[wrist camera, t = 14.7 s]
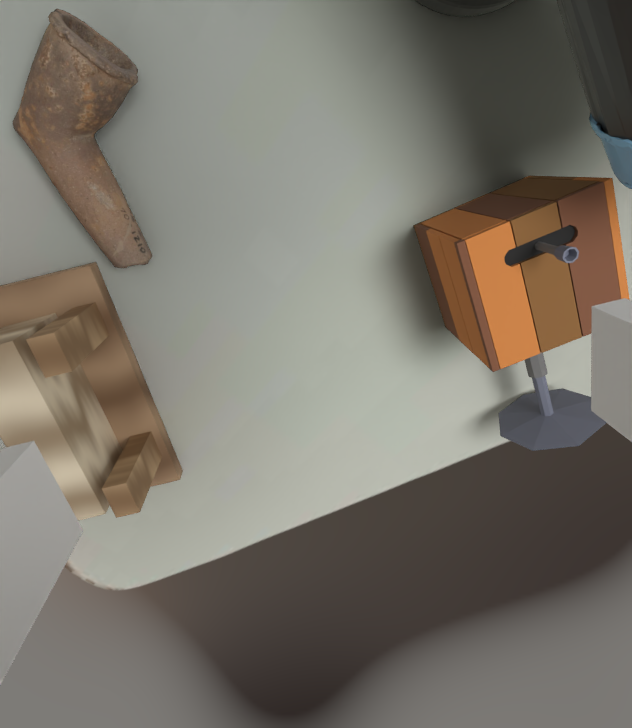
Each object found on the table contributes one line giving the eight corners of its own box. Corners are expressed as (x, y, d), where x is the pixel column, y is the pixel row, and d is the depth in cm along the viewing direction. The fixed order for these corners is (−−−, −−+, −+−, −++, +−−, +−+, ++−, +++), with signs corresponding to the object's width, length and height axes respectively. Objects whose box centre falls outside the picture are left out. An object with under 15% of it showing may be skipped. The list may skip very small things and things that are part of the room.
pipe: (95, 291, 36) (205, 238, 34) (-60, 61, 30) (61, -25, 27) (130, 269, 42) (227, 222, 40) (6, 72, 36) (111, 1, 33)
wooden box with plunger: (471, 410, 48) (543, 501, 35) (412, 225, 41) (477, 252, 28) (571, 371, 48) (684, 449, 34) (530, 174, 40) (655, 177, 27)
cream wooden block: (4, 326, 40) (-48, 356, 33) (55, 313, 40) (12, 341, 33) (85, 476, 46) (54, 526, 40) (129, 465, 46) (105, 513, 40)
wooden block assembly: (-51, 298, 40) (-143, 334, 31) (96, 262, 40) (44, 288, 31) (61, 499, 49) (13, 572, 40) (182, 470, 48) (161, 537, 40)
